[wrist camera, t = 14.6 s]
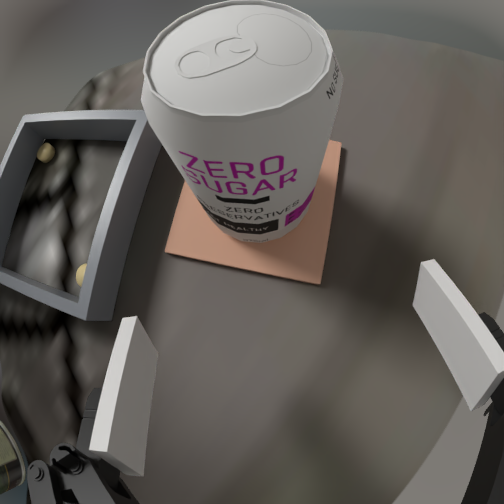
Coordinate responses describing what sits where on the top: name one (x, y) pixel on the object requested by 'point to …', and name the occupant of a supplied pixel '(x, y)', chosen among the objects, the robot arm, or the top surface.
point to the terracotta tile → (267, 253)
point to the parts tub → (114, 210)
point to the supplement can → (245, 111)
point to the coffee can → (10, 461)
